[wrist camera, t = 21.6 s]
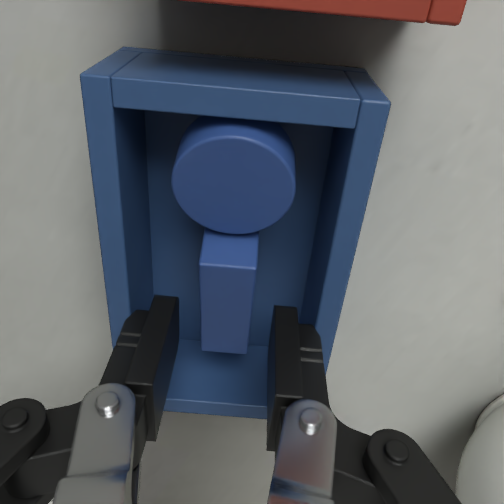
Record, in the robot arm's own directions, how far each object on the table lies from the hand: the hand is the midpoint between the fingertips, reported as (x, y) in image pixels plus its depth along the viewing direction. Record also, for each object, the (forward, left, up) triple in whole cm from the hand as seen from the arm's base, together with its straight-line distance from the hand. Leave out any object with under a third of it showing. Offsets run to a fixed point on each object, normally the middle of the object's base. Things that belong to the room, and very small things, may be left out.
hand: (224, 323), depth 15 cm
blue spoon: (0, +3, -2) cm, 3 cm away
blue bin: (0, +2, -3) cm, 4 cm away
